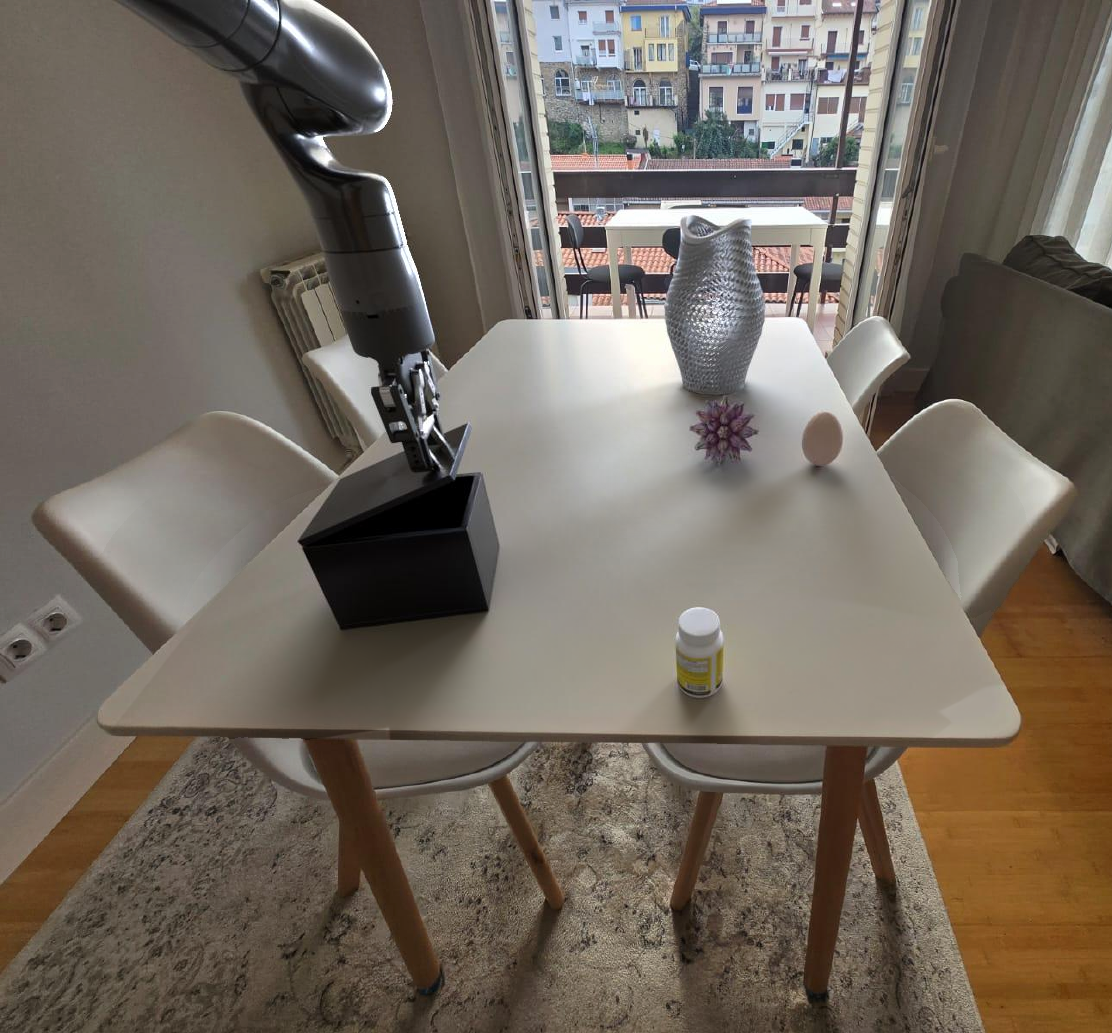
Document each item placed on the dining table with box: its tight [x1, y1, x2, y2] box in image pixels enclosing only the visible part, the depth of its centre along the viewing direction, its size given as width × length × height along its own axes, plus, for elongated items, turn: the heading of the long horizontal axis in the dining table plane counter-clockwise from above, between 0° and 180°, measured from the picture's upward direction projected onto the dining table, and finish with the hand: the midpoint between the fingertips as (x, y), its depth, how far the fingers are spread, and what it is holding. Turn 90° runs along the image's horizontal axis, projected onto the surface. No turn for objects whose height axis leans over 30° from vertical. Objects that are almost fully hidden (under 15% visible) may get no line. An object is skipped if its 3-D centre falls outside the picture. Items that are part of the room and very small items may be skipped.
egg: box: [801, 410, 844, 467], centre depth 96 cm, size 7×7×10 cm
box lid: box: [297, 412, 473, 548], centre depth 62 cm, size 18×14×5 cm
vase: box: [663, 214, 766, 395], centre depth 124 cm, size 22×22×35 cm
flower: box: [688, 395, 760, 466], centre depth 97 cm, size 12×12×12 cm
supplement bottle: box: [674, 606, 725, 699], centre depth 56 cm, size 5×5×8 cm
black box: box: [301, 471, 501, 631], centre depth 69 cm, size 17×14×12 cm
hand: (429, 456), depth 63 cm, fingers closed on box lid, 6 cm apart
